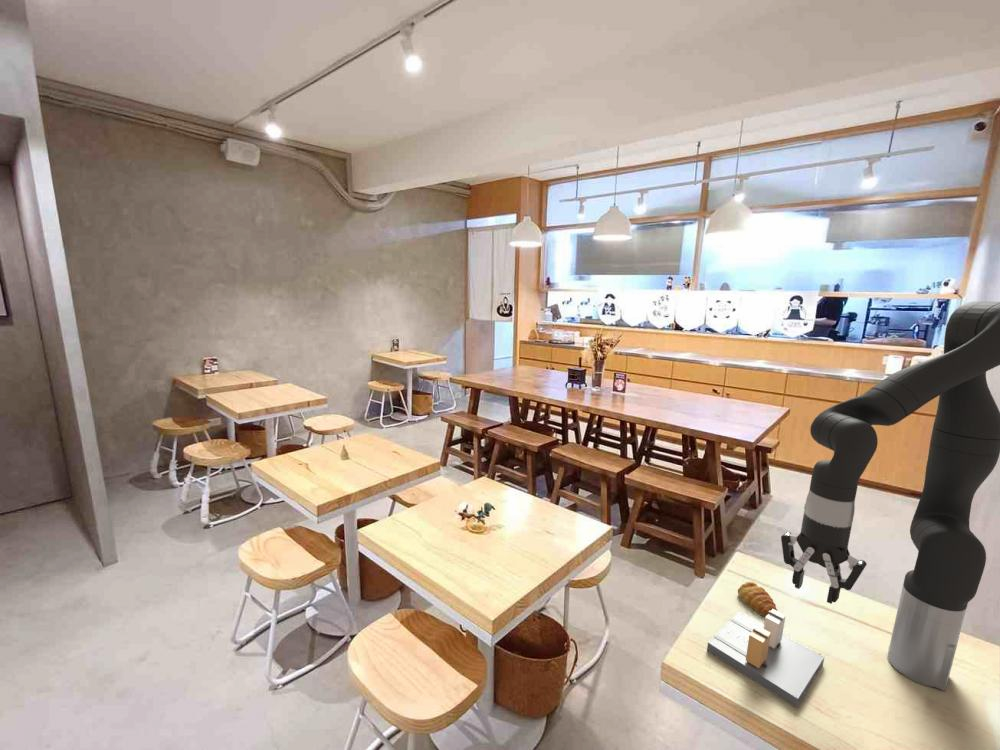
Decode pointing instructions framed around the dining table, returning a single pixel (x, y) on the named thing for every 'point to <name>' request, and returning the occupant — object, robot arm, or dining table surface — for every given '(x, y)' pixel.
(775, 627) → the cream fader
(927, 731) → the dining table surface
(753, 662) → the orange fader
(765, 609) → the pastry
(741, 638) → the console
